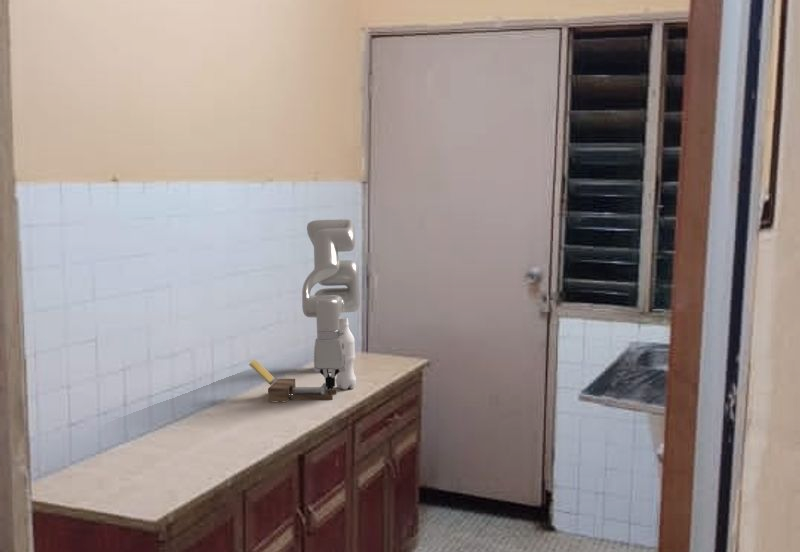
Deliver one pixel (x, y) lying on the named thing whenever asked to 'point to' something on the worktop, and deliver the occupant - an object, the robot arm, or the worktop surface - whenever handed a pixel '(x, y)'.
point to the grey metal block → (310, 390)
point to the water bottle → (347, 357)
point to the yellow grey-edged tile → (263, 372)
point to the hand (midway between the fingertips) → (330, 388)
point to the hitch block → (284, 388)
